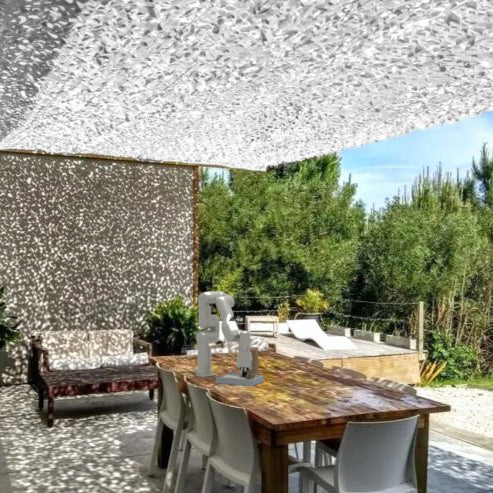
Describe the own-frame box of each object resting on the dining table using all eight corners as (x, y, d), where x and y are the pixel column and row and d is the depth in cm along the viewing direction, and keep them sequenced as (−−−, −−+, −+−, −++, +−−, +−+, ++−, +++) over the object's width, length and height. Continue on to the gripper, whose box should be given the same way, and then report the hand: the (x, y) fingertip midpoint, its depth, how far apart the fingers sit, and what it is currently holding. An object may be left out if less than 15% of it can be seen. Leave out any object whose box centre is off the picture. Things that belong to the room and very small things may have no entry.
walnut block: (246, 379, 417) (246, 375, 417) (248, 378, 421) (248, 373, 421) (252, 380, 415) (252, 375, 415) (254, 379, 419) (254, 374, 419)
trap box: (215, 382, 419) (215, 376, 419) (228, 378, 435) (228, 372, 435) (252, 386, 407) (252, 380, 407) (263, 381, 423) (263, 375, 423)
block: (255, 377, 437) (255, 348, 438) (241, 377, 439) (241, 348, 440) (258, 375, 447) (258, 346, 448) (244, 374, 449) (244, 346, 450)
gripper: (232, 349, 420) (232, 377, 420) (252, 351, 413) (252, 379, 413) (237, 348, 427) (237, 375, 426) (257, 349, 420) (257, 377, 420)
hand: (244, 377), depth 420 cm, fingers closed
